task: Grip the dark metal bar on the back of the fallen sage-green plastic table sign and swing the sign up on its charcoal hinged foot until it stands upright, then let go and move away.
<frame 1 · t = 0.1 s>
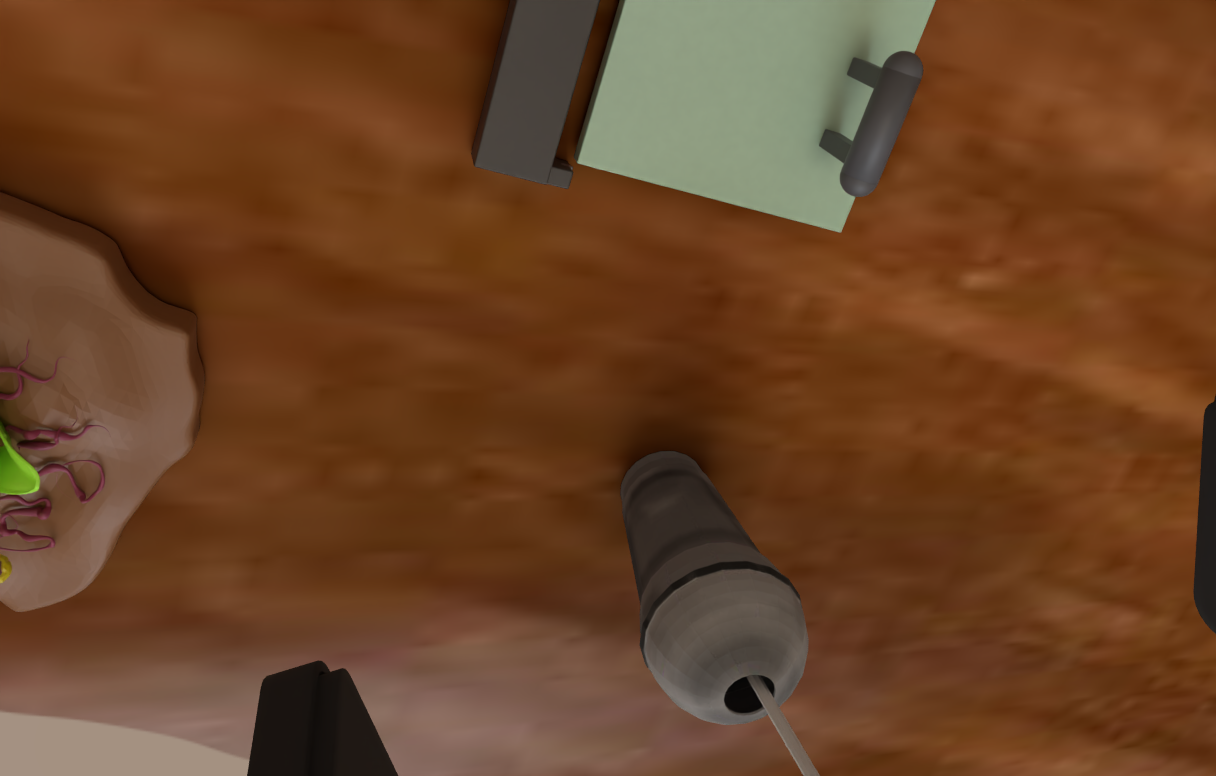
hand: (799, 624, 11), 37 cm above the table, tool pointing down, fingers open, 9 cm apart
beverage cup: (661, 485, 55), on the table
sign foot: (601, 27, 44), on the table
sign: (770, 86, 43), point 3 cm above the table, hinge at 0.0°
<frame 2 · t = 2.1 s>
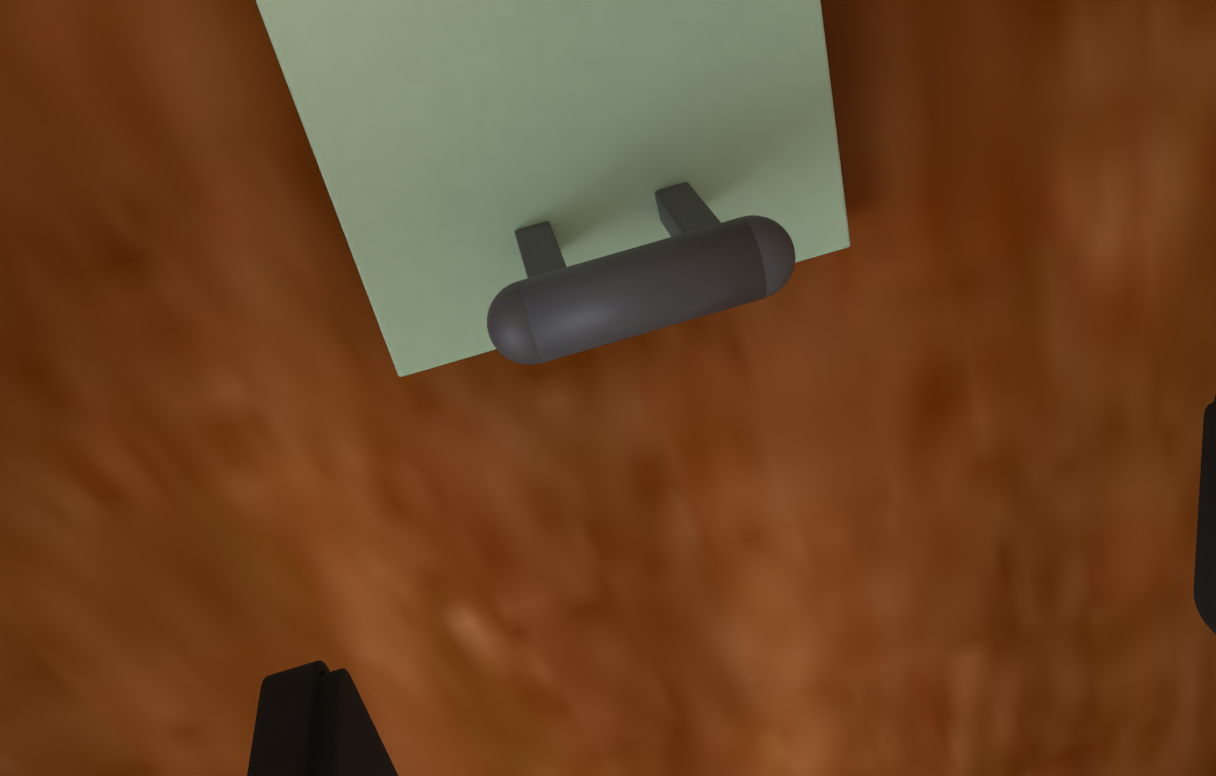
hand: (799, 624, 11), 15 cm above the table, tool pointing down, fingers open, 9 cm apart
sign: (571, 47, 20), point 3 cm above the table, hinge at 0.0°
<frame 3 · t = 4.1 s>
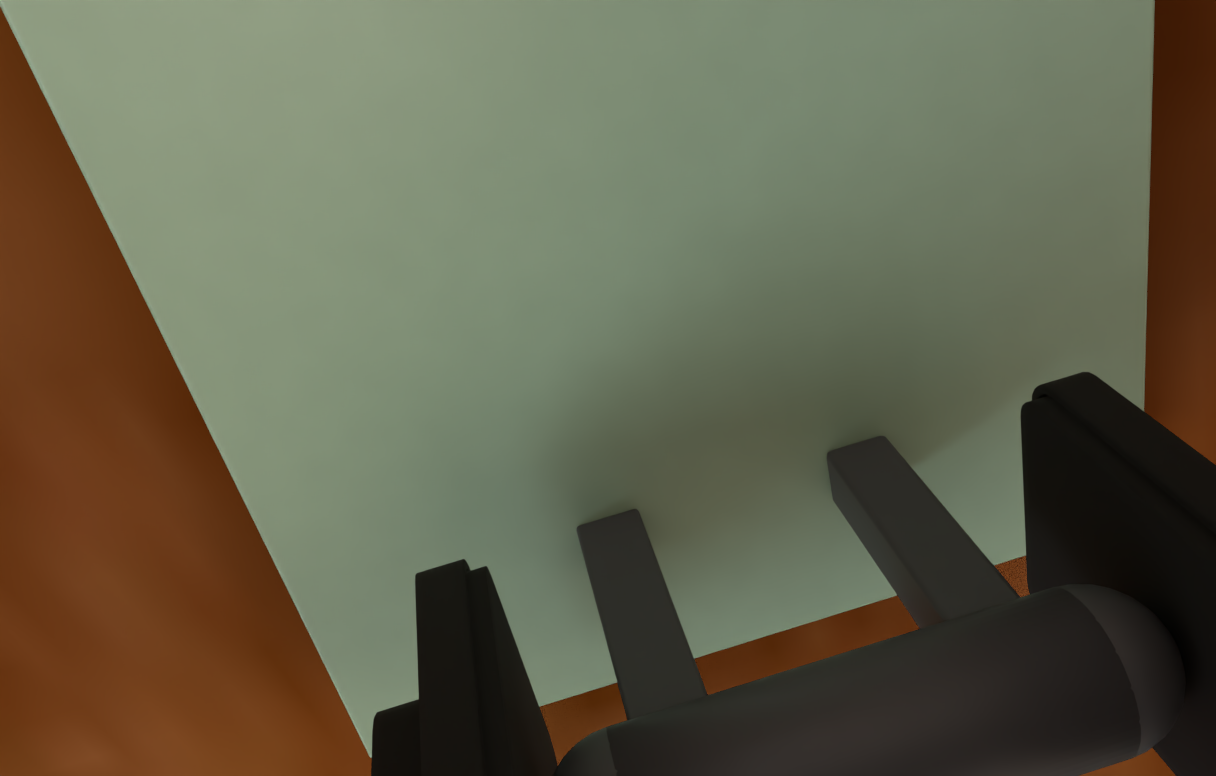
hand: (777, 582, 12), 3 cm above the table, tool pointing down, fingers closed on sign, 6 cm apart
sign: (718, 245, 9), point 3 cm above the table, hinge at 0.0°, touching gripper
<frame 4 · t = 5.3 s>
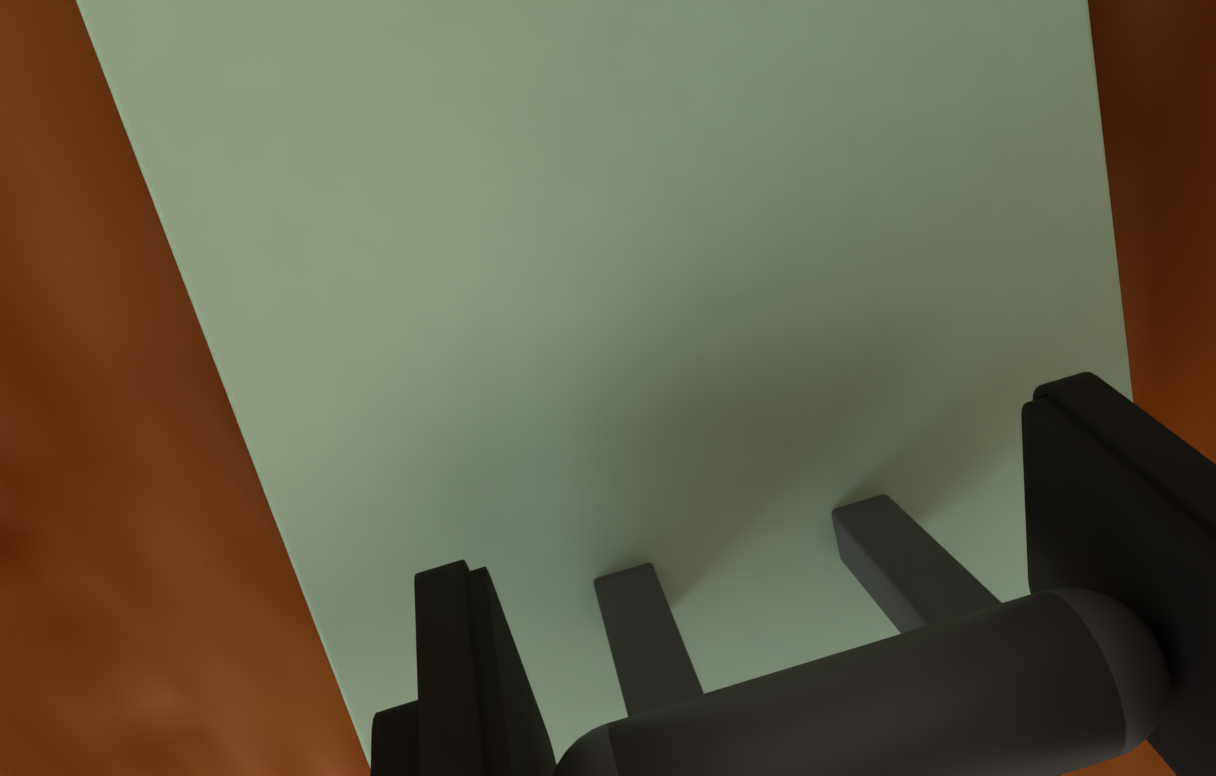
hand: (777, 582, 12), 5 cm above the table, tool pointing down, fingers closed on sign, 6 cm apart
sign: (706, 276, 11), point 5 cm above the table, hinge at 12.2°, touching gripper
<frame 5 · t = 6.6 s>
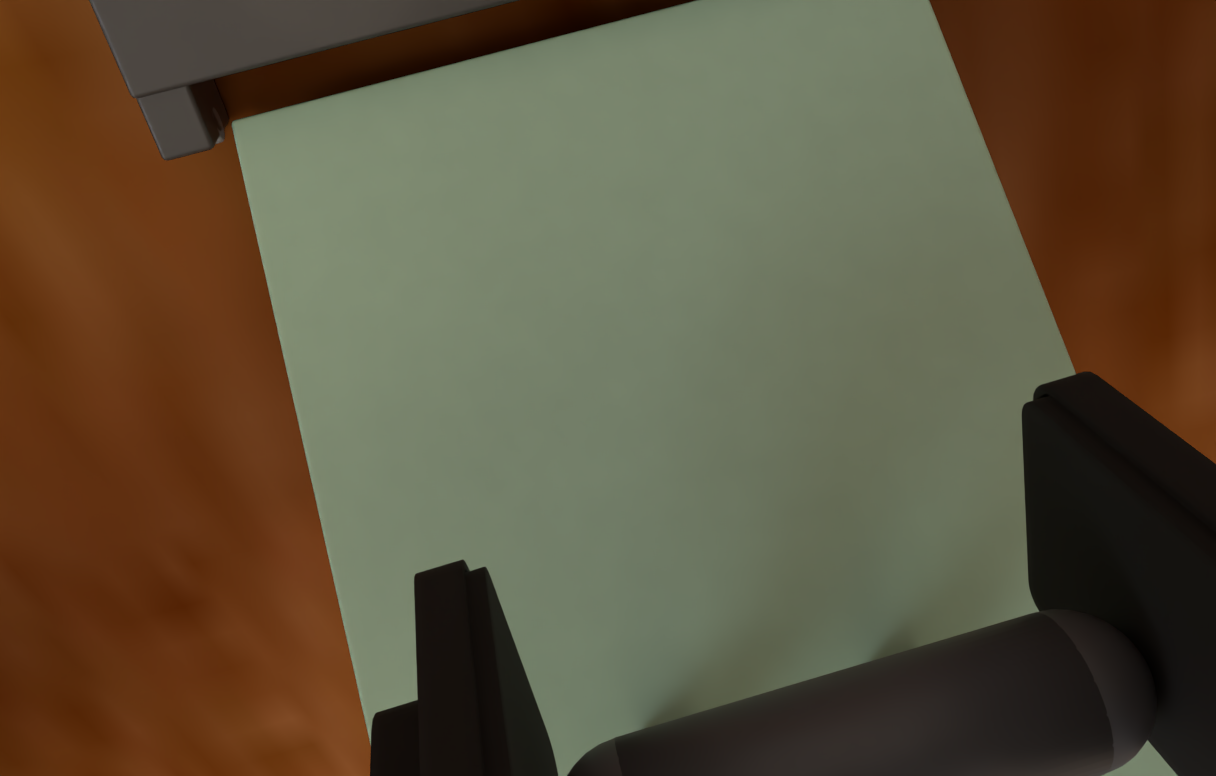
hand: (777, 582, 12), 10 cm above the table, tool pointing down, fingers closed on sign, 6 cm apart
sign foot: (563, 22, 18), on the table
sign: (707, 396, 13), point 7 cm above the table, hinge at 41.3°, touching gripper
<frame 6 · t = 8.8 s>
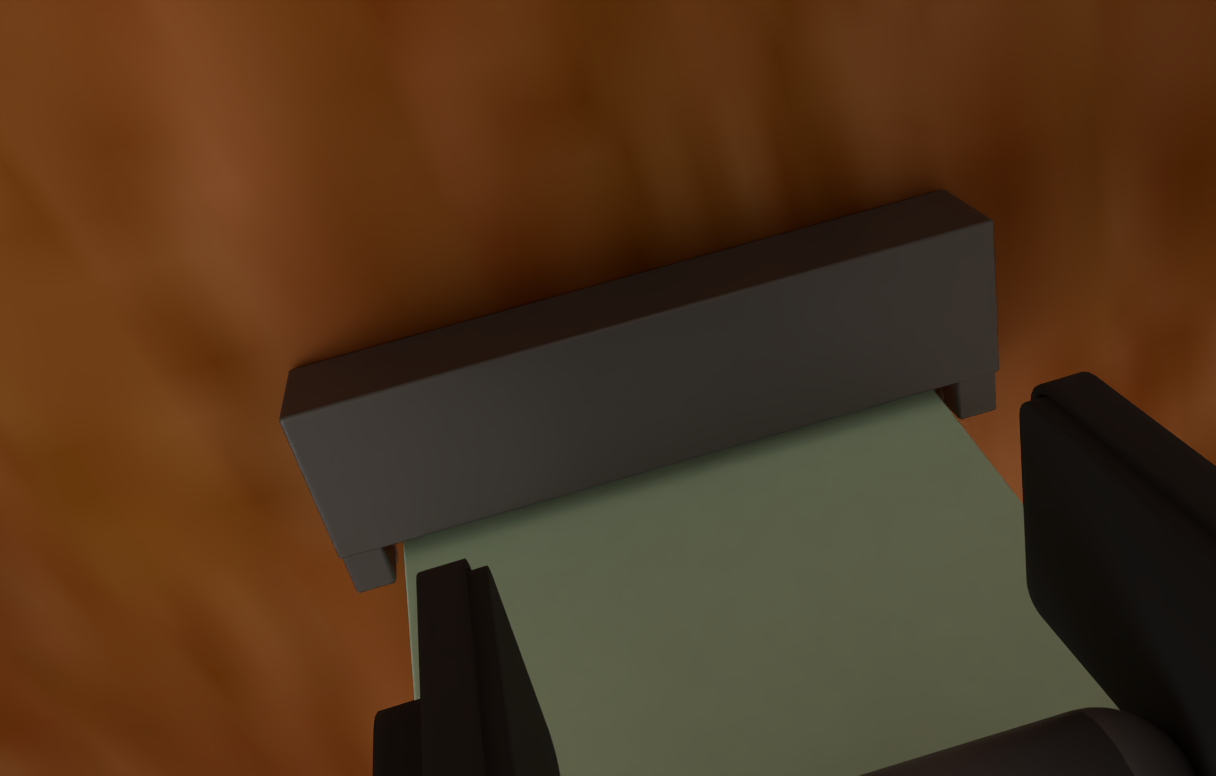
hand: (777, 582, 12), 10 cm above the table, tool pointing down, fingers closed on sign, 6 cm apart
sign foot: (660, 446, 22), on the table
sign: (768, 657, 15), point 8 cm above the table, hinge at 81.6°, touching gripper
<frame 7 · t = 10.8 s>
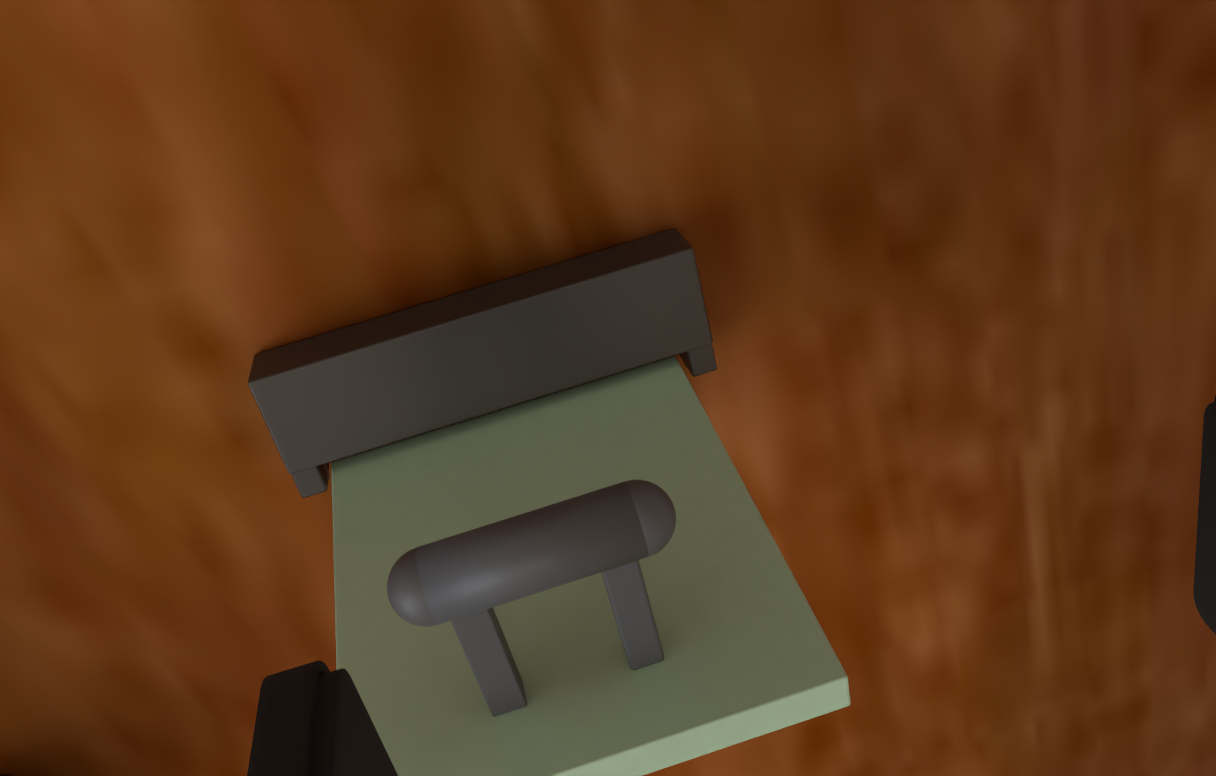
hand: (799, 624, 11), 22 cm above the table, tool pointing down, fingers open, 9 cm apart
sign foot: (504, 402, 33), on the table
sign: (525, 497, 26), point 8 cm above the table, hinge at 82.1°
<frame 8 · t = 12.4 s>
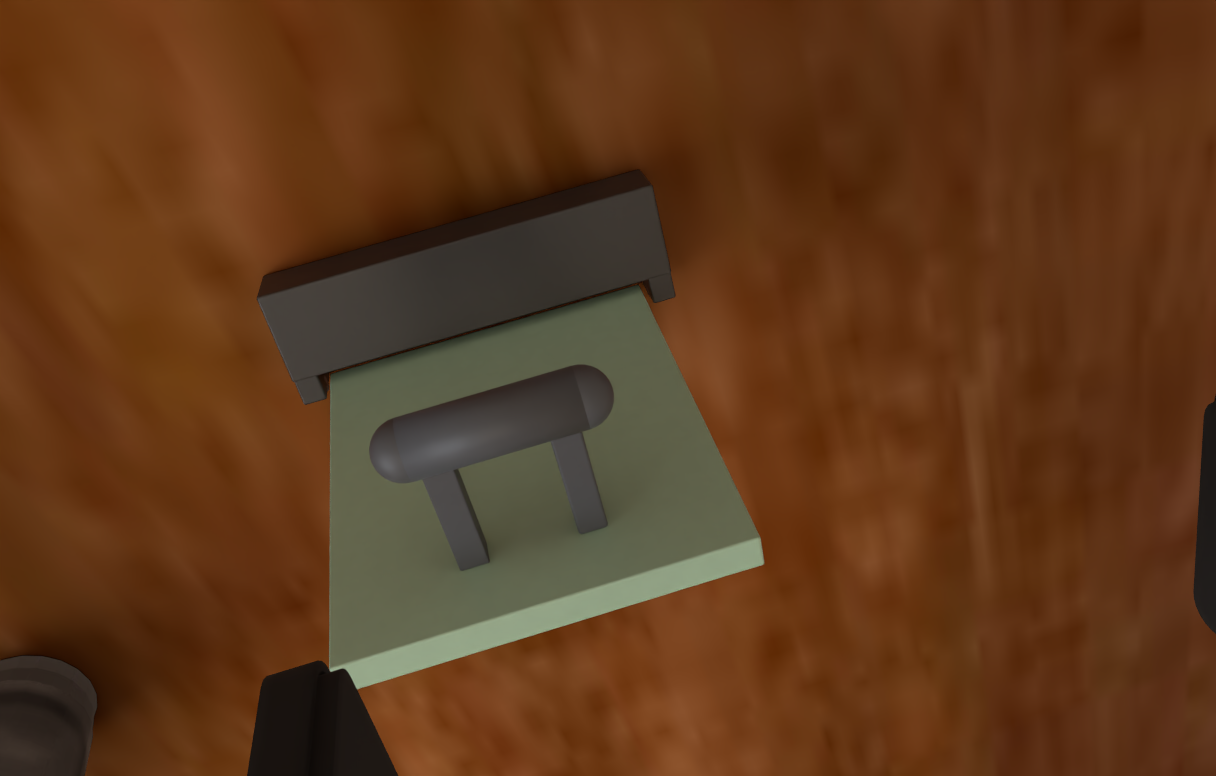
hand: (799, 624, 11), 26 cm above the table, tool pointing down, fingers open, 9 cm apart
beverage cup: (36, 696, 41), on the table
sign foot: (486, 325, 37), on the table
sign: (494, 393, 30), point 8 cm above the table, hinge at 82.1°
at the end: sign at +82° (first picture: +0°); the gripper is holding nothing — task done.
